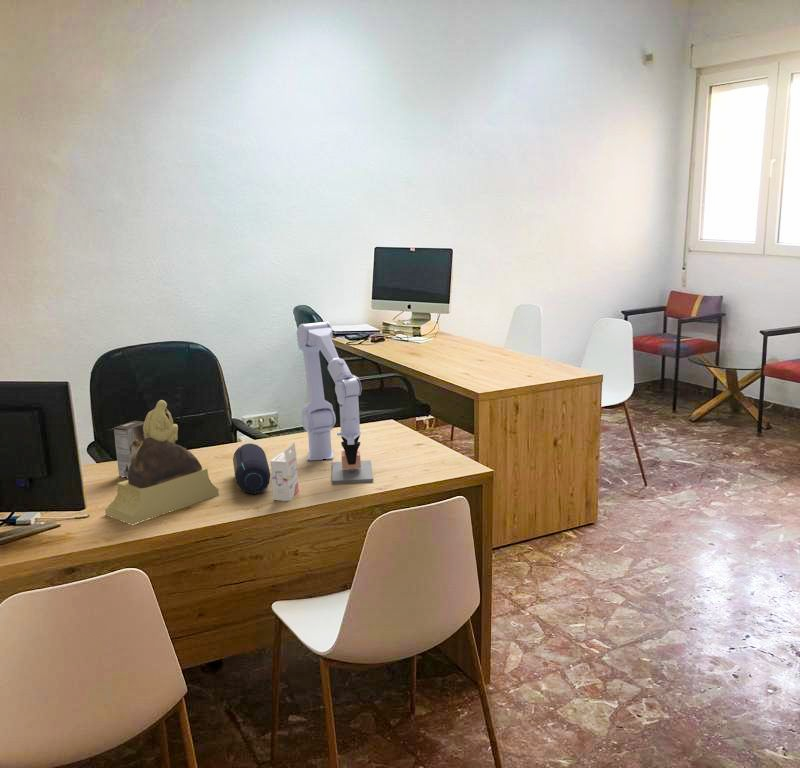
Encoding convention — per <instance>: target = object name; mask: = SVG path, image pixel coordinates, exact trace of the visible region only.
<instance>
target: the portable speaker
mask: <svg viewBox="0 0 800 768" xmlns="http://www.w3.org/2000/svg"><path fill="white" fill-rule="evenodd" d="M232 461H233V471H234V478H235V482H236V483H235V484H237V485H236V486H237V487H238V488H239V489H240V490H241V491H242V492H244V493H246V494H250V495H251V494H252V495H254V494H259V493H262V492H264V491H265V490H266V489H267V488H268V487H269V484H270V481H271V476H272V475H271V469H270V468H269V463H268V458H267V456H266V452H265V451H264V449H263V448H262V447H261V446H259V445H258V444H255V443H245V444H243V445H241V446H239V447H238V448H236V450H235V452H234V454H233V458H232Z"/></svg>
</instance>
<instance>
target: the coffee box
mask: <svg viewBox="0 0 800 768" xmlns="http://www.w3.org/2000/svg"><path fill="white" fill-rule="evenodd" d="M144 422H145V421H142V420H141V421H140V420H133V421H130V422H127V423H124V424H120V425H118V426H114V427H112V428H113V436H114V443H115V452H116V453H115V454H116V460H117V461H116V462H117V467H118V468H117V470H118V476H124V477H128V470H129V467H130V465H131V463H132V461H133V460H134V459H135V456H136V452H137V449H138V447H139V446H140V445H141V444H142V443H143V442H144V440H145V439H146V437H145V434H144V430H143V425H144ZM148 437H149V433H148Z"/></svg>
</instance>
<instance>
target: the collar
mask: <svg viewBox="0 0 800 768" xmlns="http://www.w3.org/2000/svg"><path fill="white" fill-rule="evenodd" d="M361 461H362V460H361V450H360V449H358V451H357V457H356V463H355V464H353V465H349V464H348V462H347V457H346V453H345V450H341V462H342V469H355V468H361Z"/></svg>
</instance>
